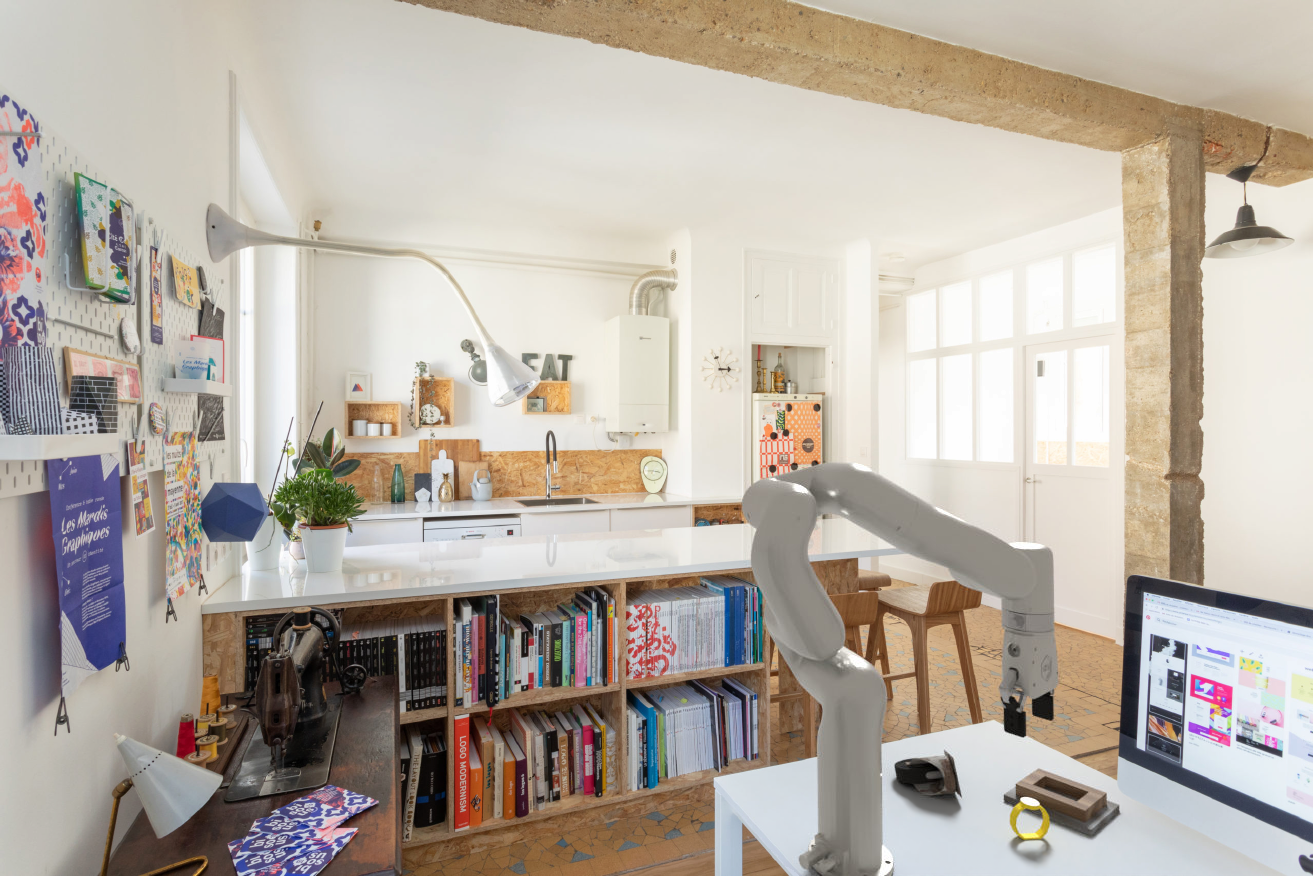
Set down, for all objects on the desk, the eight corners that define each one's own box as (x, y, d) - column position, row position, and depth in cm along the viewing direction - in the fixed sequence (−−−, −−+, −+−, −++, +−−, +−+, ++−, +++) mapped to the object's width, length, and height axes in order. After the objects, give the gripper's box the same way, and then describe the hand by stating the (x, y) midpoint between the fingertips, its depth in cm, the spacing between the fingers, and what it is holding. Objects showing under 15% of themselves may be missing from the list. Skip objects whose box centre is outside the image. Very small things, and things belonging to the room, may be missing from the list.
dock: (1091, 836, 111) (1091, 817, 111) (1003, 800, 122) (1003, 783, 122) (1119, 810, 118) (1119, 793, 118) (1034, 779, 129) (1034, 763, 129)
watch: (1041, 833, 112) (1043, 797, 112) (1052, 843, 110) (1054, 806, 110) (1006, 832, 112) (1008, 796, 112) (1016, 842, 109) (1018, 805, 109)
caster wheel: (895, 785, 132) (948, 780, 131) (907, 804, 122) (965, 798, 120) (888, 749, 134) (940, 743, 133) (899, 763, 123) (956, 757, 122)
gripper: (1027, 635, 103) (1028, 749, 103) (1075, 615, 113) (1077, 719, 113) (977, 625, 108) (979, 733, 108) (1028, 607, 119) (1029, 705, 119)
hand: (1029, 726), depth 111 cm, fingers open, 9 cm apart
